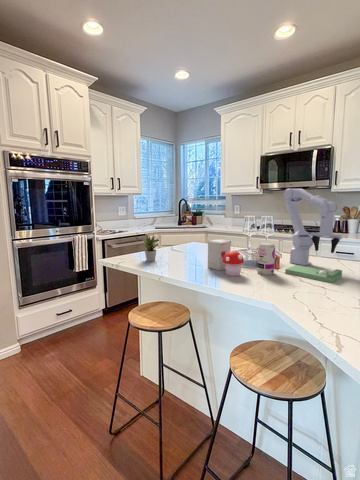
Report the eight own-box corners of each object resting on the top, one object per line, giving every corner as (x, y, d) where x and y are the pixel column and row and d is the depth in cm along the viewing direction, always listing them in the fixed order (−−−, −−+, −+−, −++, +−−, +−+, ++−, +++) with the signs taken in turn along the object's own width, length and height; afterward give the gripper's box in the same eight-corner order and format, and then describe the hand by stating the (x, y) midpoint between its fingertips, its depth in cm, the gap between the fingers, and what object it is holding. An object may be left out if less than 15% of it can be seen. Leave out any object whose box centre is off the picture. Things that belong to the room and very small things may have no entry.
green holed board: (285, 273, 138) (285, 266, 138) (296, 268, 146) (296, 262, 146) (332, 282, 122) (332, 275, 122) (341, 277, 130) (342, 270, 130)
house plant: (161, 263, 160) (161, 235, 157) (138, 263, 160) (137, 236, 158) (163, 257, 174) (163, 232, 171) (141, 258, 174) (141, 232, 172)
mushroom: (239, 278, 130) (240, 254, 128) (218, 275, 135) (218, 251, 133) (246, 273, 139) (247, 250, 137) (226, 270, 144) (226, 248, 142)
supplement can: (274, 271, 141) (276, 243, 138) (272, 276, 133) (274, 245, 131) (258, 270, 144) (259, 242, 142) (255, 274, 137) (256, 244, 134)
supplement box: (219, 270, 143) (220, 242, 141) (207, 267, 150) (207, 240, 148) (230, 267, 149) (231, 240, 147) (218, 264, 156) (218, 238, 154)
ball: (328, 271, 130) (322, 273, 133) (323, 268, 129) (317, 269, 132) (328, 278, 128) (321, 280, 131) (322, 274, 127) (316, 276, 130)
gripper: (308, 224, 142) (306, 250, 144) (339, 227, 131) (336, 254, 133) (314, 223, 146) (312, 248, 149) (344, 226, 136) (342, 252, 138)
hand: (324, 251), depth 141 cm, fingers open, 7 cm apart
